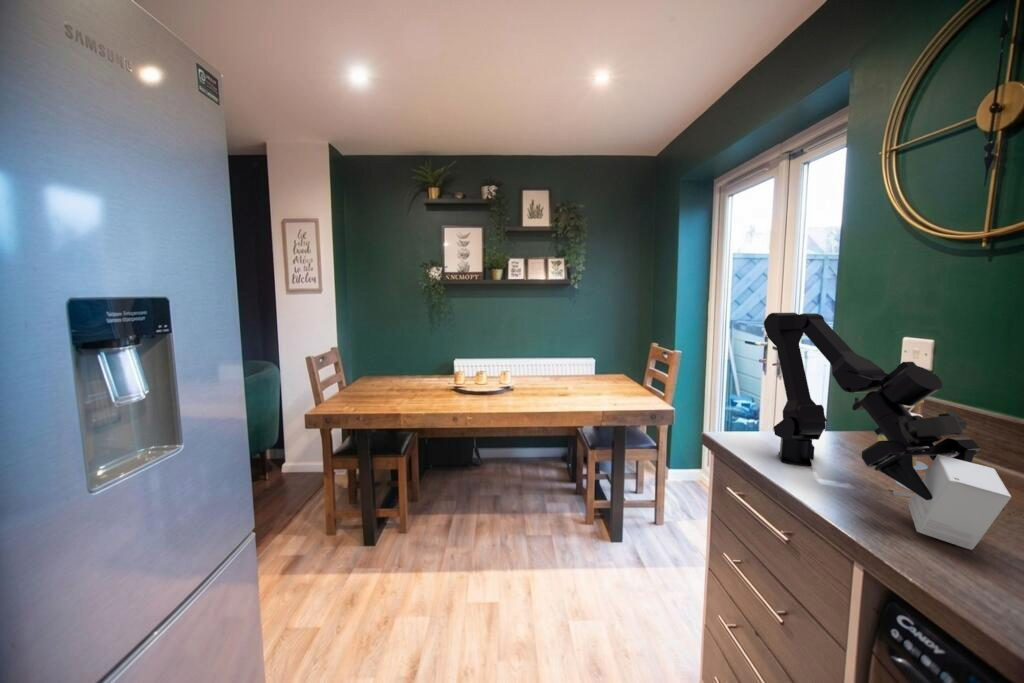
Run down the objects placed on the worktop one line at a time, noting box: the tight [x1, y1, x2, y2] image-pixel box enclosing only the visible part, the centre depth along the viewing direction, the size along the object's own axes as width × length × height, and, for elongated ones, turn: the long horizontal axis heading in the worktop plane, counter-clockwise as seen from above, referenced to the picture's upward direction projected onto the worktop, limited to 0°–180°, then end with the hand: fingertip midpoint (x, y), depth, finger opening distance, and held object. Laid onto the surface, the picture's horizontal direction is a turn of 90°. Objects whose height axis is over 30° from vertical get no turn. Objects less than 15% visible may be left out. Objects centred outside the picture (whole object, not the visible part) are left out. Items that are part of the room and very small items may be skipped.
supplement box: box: [908, 454, 1012, 551], centre depth 69 cm, size 7×7×13 cm
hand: (954, 497), depth 70 cm, fingers closed on supplement box, 9 cm apart
